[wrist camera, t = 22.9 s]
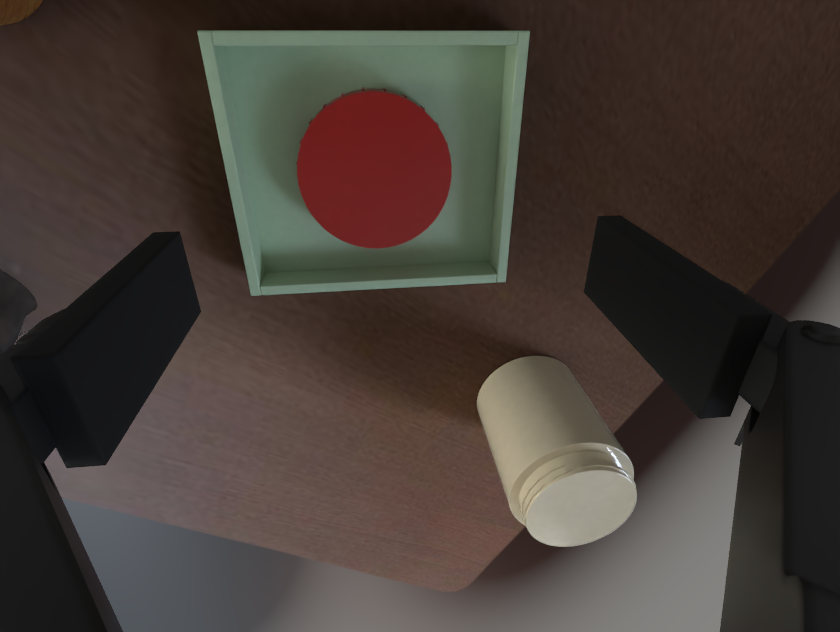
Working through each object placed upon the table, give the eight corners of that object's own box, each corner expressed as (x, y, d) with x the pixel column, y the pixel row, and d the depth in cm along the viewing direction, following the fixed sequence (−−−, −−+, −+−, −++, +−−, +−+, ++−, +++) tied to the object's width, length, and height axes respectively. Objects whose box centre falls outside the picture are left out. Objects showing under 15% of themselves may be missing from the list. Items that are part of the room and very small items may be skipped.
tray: (515, 32, 24) (530, 30, 22) (495, 266, 31) (506, 282, 29) (211, 31, 23) (196, 30, 21) (258, 278, 29) (250, 296, 27)
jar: (583, 351, 35) (662, 456, 26) (567, 430, 39) (630, 545, 30) (479, 358, 35) (523, 469, 26) (473, 439, 39) (510, 559, 30)
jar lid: (267, 139, 25) (262, 145, 24) (402, 54, 24) (406, 55, 22) (351, 262, 29) (351, 274, 28) (470, 195, 28) (477, 204, 26)
